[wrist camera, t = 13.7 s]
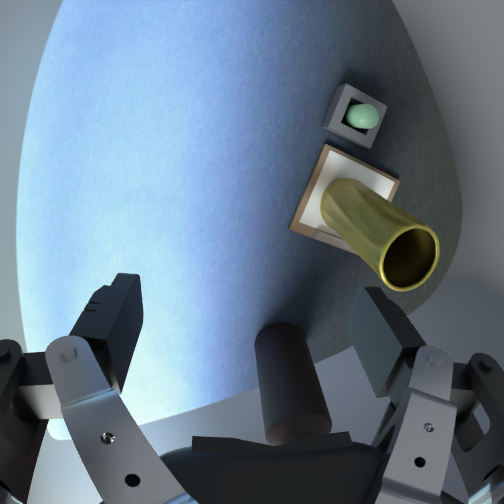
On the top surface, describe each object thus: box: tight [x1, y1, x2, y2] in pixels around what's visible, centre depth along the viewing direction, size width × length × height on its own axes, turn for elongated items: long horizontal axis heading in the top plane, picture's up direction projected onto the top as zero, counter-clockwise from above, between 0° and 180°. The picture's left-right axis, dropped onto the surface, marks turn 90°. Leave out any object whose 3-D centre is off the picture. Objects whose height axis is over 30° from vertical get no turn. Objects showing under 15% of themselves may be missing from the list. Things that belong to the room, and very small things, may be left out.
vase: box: [320, 178, 439, 291], centre depth 27 cm, size 6×6×14 cm
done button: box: [344, 104, 379, 129], centre depth 27 cm, size 2×2×3 cm
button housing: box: [321, 84, 388, 149], centre depth 29 cm, size 5×5×2 cm
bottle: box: [255, 324, 332, 446], centre depth 32 cm, size 7×7×20 cm
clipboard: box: [288, 144, 400, 255], centre depth 33 cm, size 10×10×1 cm
